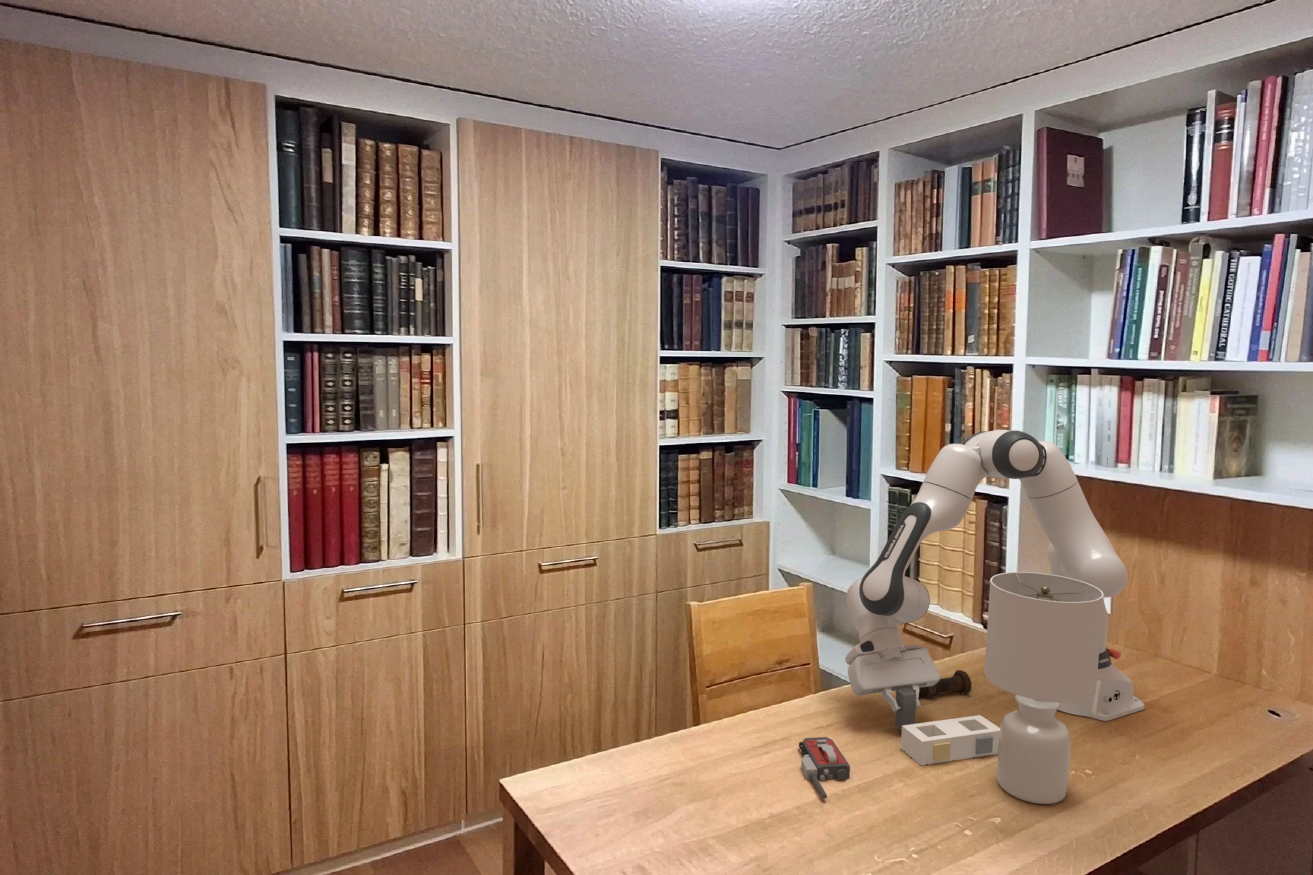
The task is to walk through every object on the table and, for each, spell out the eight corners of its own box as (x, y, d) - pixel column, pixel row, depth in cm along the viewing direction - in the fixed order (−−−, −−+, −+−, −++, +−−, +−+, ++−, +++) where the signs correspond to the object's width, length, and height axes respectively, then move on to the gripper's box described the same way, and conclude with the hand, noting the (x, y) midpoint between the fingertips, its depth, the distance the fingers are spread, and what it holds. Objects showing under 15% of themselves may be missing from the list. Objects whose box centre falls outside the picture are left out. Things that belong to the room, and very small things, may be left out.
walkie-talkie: (788, 749, 167) (818, 804, 147) (789, 729, 166) (819, 781, 146) (830, 747, 168) (865, 801, 148) (831, 727, 167) (866, 779, 147)
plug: (906, 723, 176) (908, 688, 175) (914, 729, 173) (916, 694, 172) (894, 725, 175) (896, 689, 174) (902, 731, 172) (903, 695, 171)
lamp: (1085, 828, 140) (1103, 609, 136) (970, 798, 149) (983, 591, 145) (1088, 779, 156) (1104, 581, 152) (984, 753, 165) (996, 566, 161)
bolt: (908, 704, 193) (962, 695, 197) (919, 702, 188) (974, 693, 192) (901, 679, 195) (955, 670, 199) (912, 676, 190) (967, 668, 194)
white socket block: (978, 737, 173) (980, 714, 172) (1003, 754, 165) (1004, 731, 165) (900, 748, 167) (901, 725, 167) (922, 766, 160) (923, 742, 159)
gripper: (918, 649, 186) (942, 708, 178) (838, 658, 181) (859, 720, 172) (930, 637, 181) (956, 697, 173) (848, 646, 176) (871, 709, 168)
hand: (907, 709), depth 173 cm, fingers closed on plug, 3 cm apart
